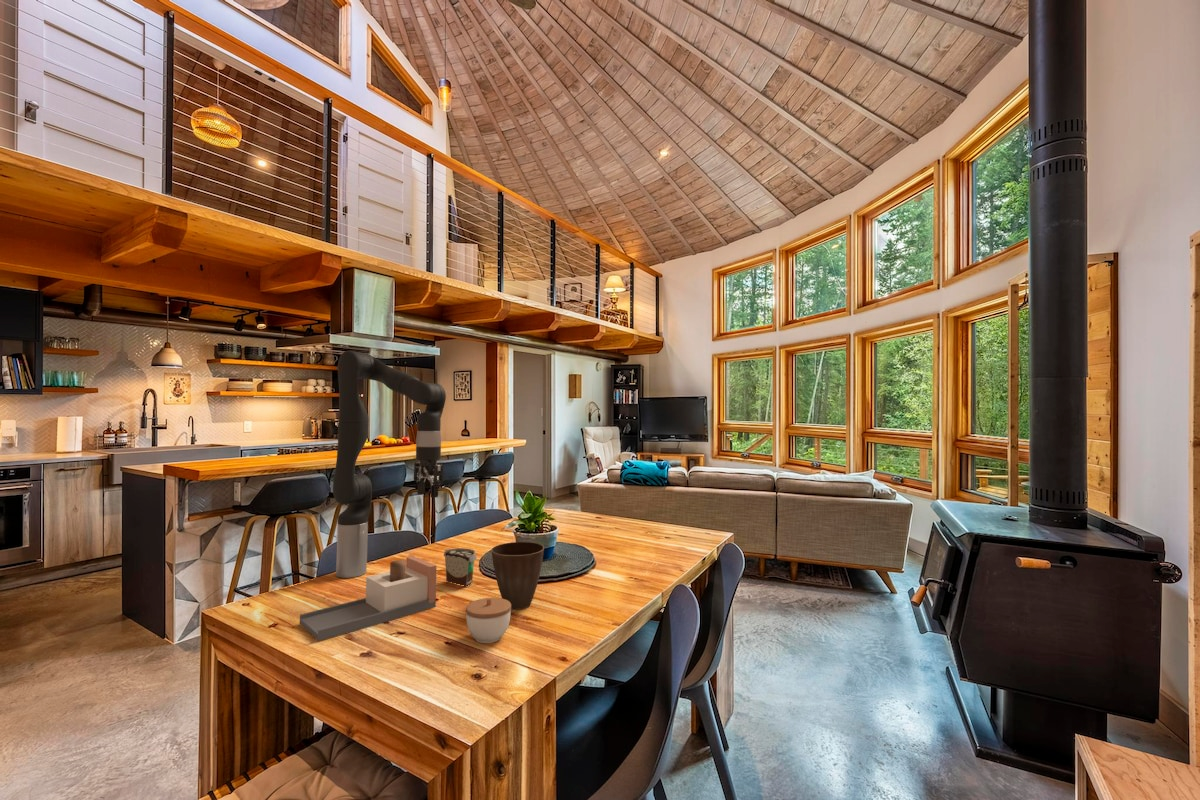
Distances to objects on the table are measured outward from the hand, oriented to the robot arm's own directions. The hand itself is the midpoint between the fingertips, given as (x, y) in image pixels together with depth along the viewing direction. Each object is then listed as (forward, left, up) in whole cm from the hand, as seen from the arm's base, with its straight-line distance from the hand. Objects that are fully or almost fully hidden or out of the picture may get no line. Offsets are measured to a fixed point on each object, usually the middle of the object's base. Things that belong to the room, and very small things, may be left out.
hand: (427, 495), depth 158 cm
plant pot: (+34, +10, -28) cm, 45 cm away
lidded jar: (+46, -8, -28) cm, 55 cm away
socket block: (+12, -15, -26) cm, 33 cm away
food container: (+6, +10, -28) cm, 31 cm away
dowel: (+12, -15, -26) cm, 32 cm away
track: (+12, -22, -28) cm, 38 cm away
